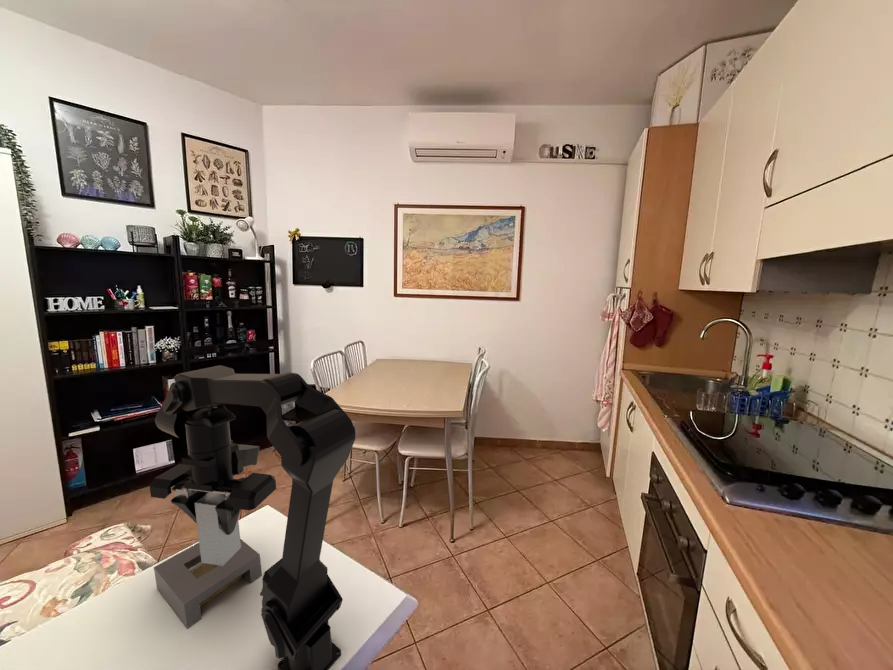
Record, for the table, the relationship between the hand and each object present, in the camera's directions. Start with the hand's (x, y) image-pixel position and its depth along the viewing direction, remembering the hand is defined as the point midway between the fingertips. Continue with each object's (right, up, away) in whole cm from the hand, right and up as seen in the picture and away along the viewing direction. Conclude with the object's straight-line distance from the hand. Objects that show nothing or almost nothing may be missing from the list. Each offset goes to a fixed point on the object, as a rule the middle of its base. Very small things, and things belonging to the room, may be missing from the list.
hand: (219, 531), depth 58 cm
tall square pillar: (0, -4, +1) cm, 4 cm away
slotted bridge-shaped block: (-5, -13, +6) cm, 15 cm away
